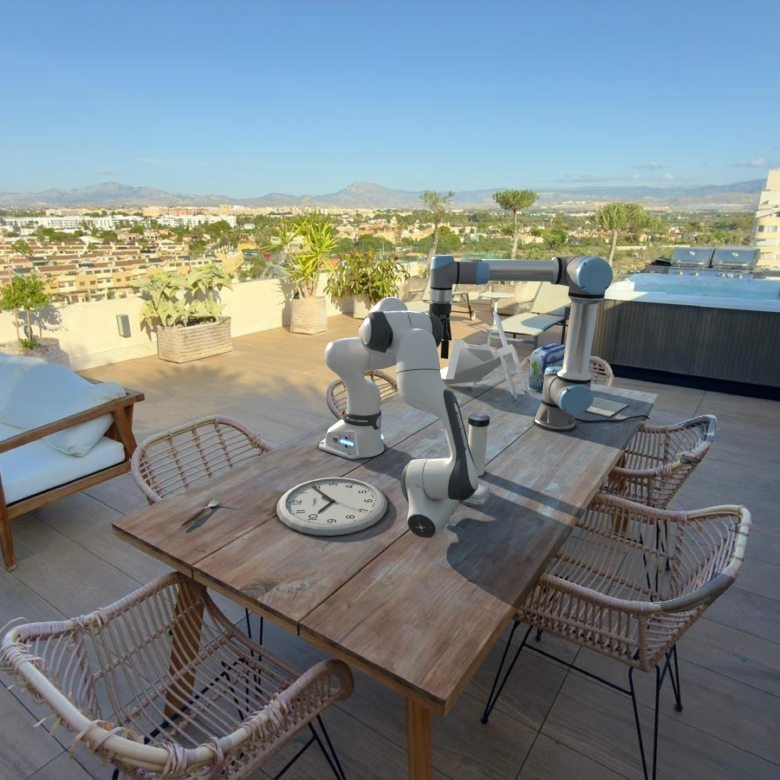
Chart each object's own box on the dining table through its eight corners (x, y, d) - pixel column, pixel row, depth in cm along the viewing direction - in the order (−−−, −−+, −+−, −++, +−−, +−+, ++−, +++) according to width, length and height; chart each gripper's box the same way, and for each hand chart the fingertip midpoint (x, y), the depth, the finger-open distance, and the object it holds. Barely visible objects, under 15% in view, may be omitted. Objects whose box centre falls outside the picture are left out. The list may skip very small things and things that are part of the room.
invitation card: (608, 416, 214) (573, 407, 224) (608, 416, 214) (573, 408, 224) (628, 404, 229) (594, 396, 238) (628, 405, 229) (594, 397, 238)
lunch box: (544, 395, 239) (549, 351, 233) (524, 390, 247) (528, 347, 240) (571, 384, 257) (577, 343, 251) (552, 380, 264) (556, 339, 258)
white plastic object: (461, 429, 252) (437, 405, 227) (444, 352, 274) (420, 323, 250) (535, 404, 240) (518, 377, 215) (510, 326, 262) (492, 293, 237)
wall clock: (392, 527, 129) (268, 531, 127) (391, 533, 130) (269, 537, 127) (383, 473, 158) (282, 475, 155) (383, 478, 158) (282, 480, 156)
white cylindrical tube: (485, 469, 166) (489, 416, 160) (482, 477, 160) (487, 422, 155) (467, 467, 167) (471, 414, 162) (465, 474, 162) (468, 420, 157)
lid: (490, 420, 161) (490, 414, 160) (488, 428, 155) (488, 421, 154) (469, 418, 163) (470, 412, 162) (466, 425, 157) (467, 419, 156)
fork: (176, 526, 131) (176, 519, 130) (217, 497, 145) (217, 491, 145) (185, 528, 130) (184, 521, 130) (225, 499, 145) (224, 492, 144)
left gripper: (483, 495, 130) (496, 472, 142) (407, 477, 138) (426, 457, 150) (481, 517, 132) (494, 493, 144) (407, 498, 140) (425, 477, 152)
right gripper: (442, 297, 190) (440, 354, 196) (416, 305, 168) (414, 369, 174) (462, 298, 187) (459, 356, 193) (438, 307, 165) (435, 372, 171)
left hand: (459, 475), depth 147 cm, fingers open, 8 cm apart
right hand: (437, 362), depth 184 cm, fingers open, 13 cm apart
